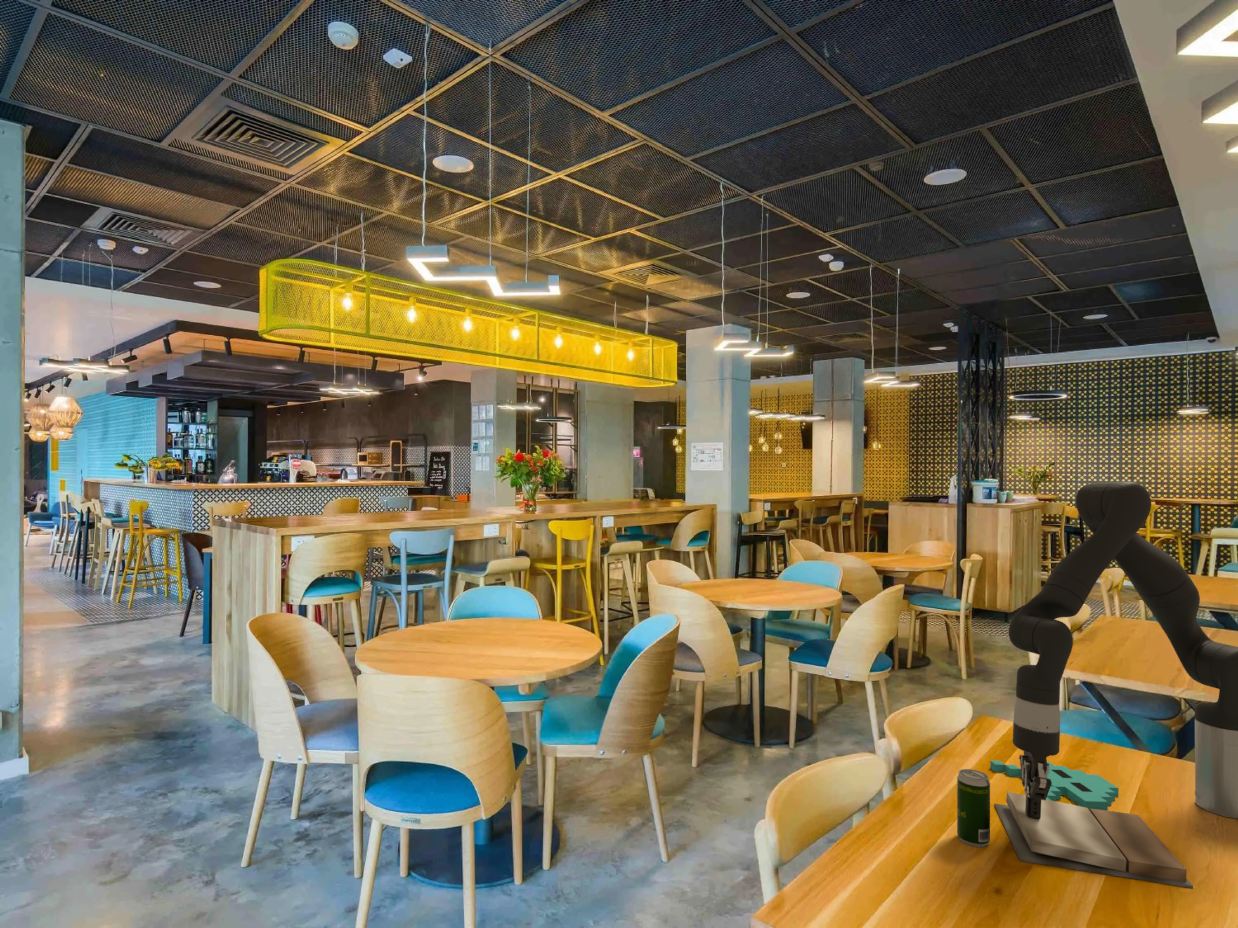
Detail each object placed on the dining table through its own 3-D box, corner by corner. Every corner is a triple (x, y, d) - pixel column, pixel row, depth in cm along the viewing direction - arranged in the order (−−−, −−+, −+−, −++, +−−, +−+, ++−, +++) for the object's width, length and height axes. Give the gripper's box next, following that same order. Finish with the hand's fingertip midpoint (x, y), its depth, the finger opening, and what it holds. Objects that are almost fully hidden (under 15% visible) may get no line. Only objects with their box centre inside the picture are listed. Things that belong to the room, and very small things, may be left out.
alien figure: (1040, 811, 142) (1141, 813, 141) (1040, 799, 142) (1141, 802, 141) (990, 770, 162) (1078, 771, 161) (990, 760, 162) (1078, 762, 161)
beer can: (996, 844, 127) (996, 777, 128) (976, 850, 125) (976, 782, 125) (970, 830, 132) (970, 766, 132) (950, 836, 130) (950, 771, 130)
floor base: (1139, 825, 135) (1138, 812, 135) (1193, 887, 114) (1192, 872, 114) (994, 805, 143) (994, 793, 143) (1019, 860, 122) (1019, 846, 122)
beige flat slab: (1086, 817, 137) (1087, 807, 137) (1125, 871, 118) (1126, 859, 118) (1006, 801, 141) (1007, 791, 141) (1031, 850, 122) (1032, 839, 122)
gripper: (1070, 738, 124) (1066, 837, 124) (1049, 715, 137) (1046, 805, 136) (1022, 731, 126) (1018, 829, 126) (1006, 709, 139) (1002, 798, 138)
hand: (1032, 816), depth 131 cm, fingers closed
